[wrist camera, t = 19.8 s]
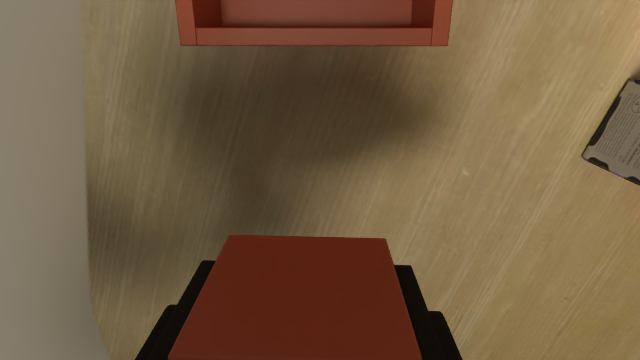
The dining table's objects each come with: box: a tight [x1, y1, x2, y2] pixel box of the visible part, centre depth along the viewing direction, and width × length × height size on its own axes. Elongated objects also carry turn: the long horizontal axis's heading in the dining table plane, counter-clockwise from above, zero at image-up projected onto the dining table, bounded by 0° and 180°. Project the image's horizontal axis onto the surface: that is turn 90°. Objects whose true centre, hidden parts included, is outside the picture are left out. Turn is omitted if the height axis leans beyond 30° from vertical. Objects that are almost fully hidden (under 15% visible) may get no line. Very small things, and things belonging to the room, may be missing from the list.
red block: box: [168, 235, 422, 360], centre depth 9 cm, size 4×4×4 cm
